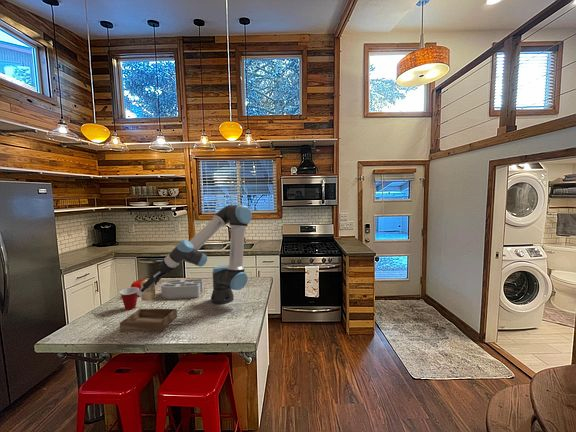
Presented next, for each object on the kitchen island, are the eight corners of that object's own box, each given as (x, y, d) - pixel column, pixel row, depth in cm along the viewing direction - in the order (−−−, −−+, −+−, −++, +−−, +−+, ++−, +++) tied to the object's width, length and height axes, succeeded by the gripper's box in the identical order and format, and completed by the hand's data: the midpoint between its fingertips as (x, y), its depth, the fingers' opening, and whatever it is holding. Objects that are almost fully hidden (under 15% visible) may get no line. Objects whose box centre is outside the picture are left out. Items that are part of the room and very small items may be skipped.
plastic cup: (119, 313, 165) (117, 294, 164) (121, 306, 175) (120, 288, 174) (139, 310, 170) (138, 291, 169) (140, 304, 180) (139, 286, 179)
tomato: (150, 295, 196) (149, 280, 195) (131, 298, 190) (130, 283, 189) (147, 290, 206) (146, 276, 205) (130, 293, 200) (129, 278, 199)
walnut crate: (140, 316, 160) (140, 308, 159) (177, 317, 159) (176, 308, 158) (120, 332, 142) (119, 322, 141) (161, 332, 141) (160, 323, 140)
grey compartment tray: (198, 297, 190) (198, 285, 189) (157, 299, 188) (156, 287, 187) (204, 289, 206) (203, 278, 206) (166, 291, 204) (165, 280, 204)
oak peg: (146, 297, 152) (146, 279, 151) (155, 297, 151) (154, 279, 151) (141, 300, 147) (140, 282, 146) (150, 300, 146) (149, 282, 146)
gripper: (166, 272, 138) (136, 304, 140) (182, 264, 156) (155, 292, 158) (155, 262, 138) (126, 294, 140) (172, 255, 156) (146, 283, 158)
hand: (141, 292), depth 149 cm, fingers closed on oak peg, 5 cm apart
